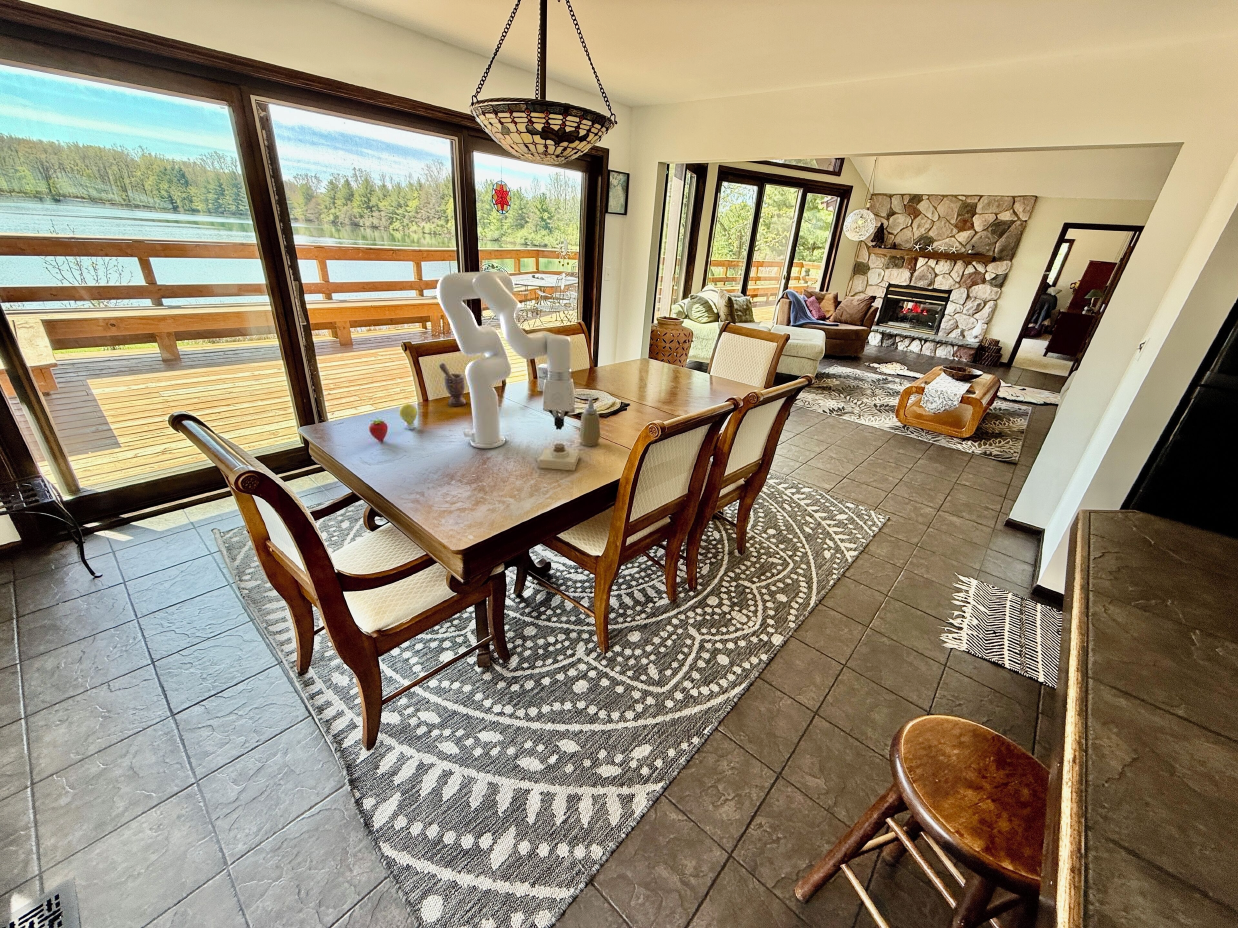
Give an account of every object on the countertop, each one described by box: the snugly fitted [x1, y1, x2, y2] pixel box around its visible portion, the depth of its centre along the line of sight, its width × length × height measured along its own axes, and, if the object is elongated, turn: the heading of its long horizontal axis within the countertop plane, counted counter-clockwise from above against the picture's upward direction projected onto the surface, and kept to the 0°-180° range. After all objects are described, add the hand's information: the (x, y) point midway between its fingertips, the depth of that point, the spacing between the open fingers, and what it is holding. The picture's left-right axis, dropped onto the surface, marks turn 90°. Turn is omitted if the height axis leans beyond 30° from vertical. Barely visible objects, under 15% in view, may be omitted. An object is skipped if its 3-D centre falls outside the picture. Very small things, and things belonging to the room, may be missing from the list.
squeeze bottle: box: [579, 397, 601, 447], centre depth 181 cm, size 8×8×18 cm
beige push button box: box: [538, 446, 580, 471], centre depth 167 cm, size 12×10×5 cm
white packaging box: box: [537, 363, 547, 392], centre depth 242 cm, size 7×7×13 cm
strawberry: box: [368, 417, 389, 443], centre depth 175 cm, size 6×8×10 cm
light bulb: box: [398, 403, 418, 430], centre depth 188 cm, size 7×7×10 cm
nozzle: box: [553, 443, 566, 452], centre depth 166 cm, size 4×4×2 cm
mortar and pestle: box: [438, 362, 467, 407], centre depth 214 cm, size 12×9×20 cm
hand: (559, 428), depth 162 cm, fingers closed
